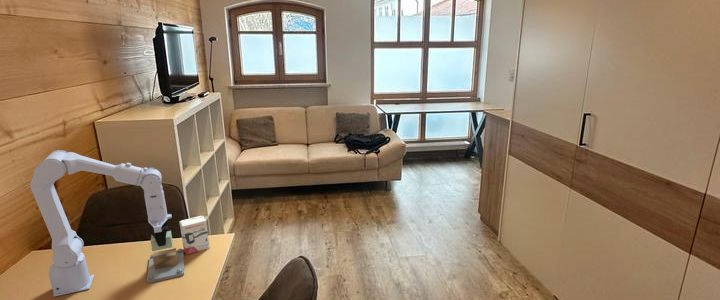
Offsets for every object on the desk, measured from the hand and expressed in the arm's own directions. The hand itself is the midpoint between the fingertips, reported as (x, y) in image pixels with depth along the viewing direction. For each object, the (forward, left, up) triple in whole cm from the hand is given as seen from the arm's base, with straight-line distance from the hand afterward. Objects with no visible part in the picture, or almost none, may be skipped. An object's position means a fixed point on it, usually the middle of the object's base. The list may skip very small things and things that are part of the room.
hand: (162, 241), depth 134 cm
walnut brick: (0, 0, -9) cm, 9 cm away
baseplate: (0, 0, -10) cm, 10 cm away
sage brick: (0, 0, -2) cm, 2 cm away
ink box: (+10, +8, -10) cm, 16 cm away
